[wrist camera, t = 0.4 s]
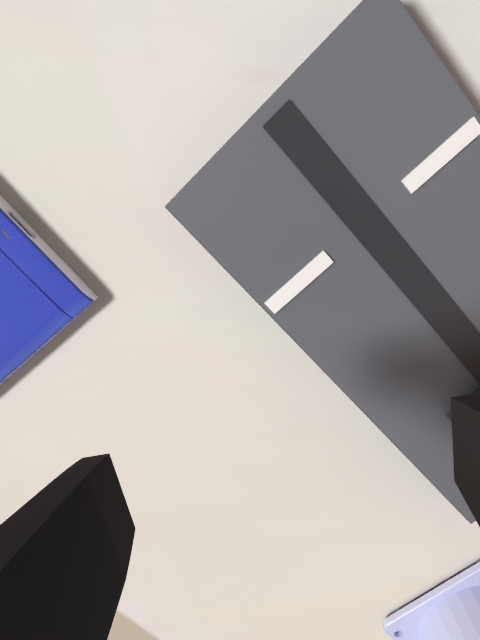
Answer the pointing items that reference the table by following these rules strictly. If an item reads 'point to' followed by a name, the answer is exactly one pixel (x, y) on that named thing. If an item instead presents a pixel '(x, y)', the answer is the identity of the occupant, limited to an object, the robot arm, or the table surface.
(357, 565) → the table surface
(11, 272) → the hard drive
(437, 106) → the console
